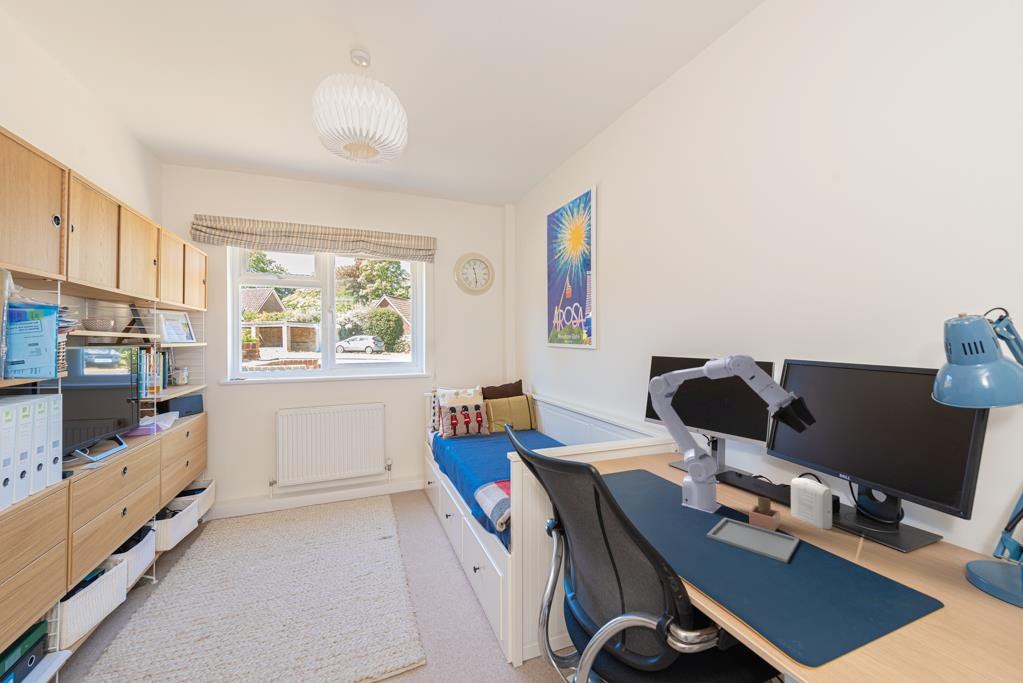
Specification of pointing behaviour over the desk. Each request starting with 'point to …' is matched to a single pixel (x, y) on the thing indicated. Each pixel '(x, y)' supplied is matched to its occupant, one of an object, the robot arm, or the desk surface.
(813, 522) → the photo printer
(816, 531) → the desk surface
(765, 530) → the tray
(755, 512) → the tan open box
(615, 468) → the desk surface
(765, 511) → the pin
